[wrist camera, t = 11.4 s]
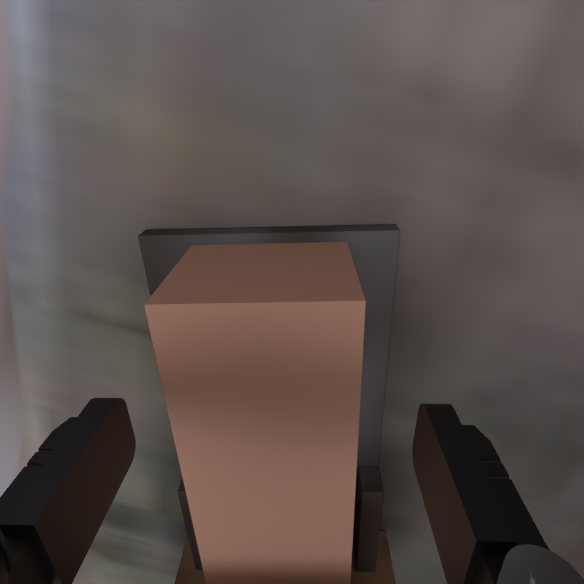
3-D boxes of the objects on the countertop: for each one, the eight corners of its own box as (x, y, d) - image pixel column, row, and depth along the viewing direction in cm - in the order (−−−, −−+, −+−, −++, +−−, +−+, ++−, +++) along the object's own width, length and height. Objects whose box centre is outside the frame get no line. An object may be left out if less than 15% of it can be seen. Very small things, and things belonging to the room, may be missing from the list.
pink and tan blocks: (421, 223, 15) (589, 393, 6) (383, 551, 24) (430, 813, 15) (121, 230, 16) (-123, 397, 7) (193, 549, 25) (130, 803, 16)
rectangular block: (346, 241, 15) (365, 300, 10) (338, 537, 23) (347, 645, 18) (191, 245, 15) (144, 304, 11) (235, 537, 23) (219, 643, 18)
